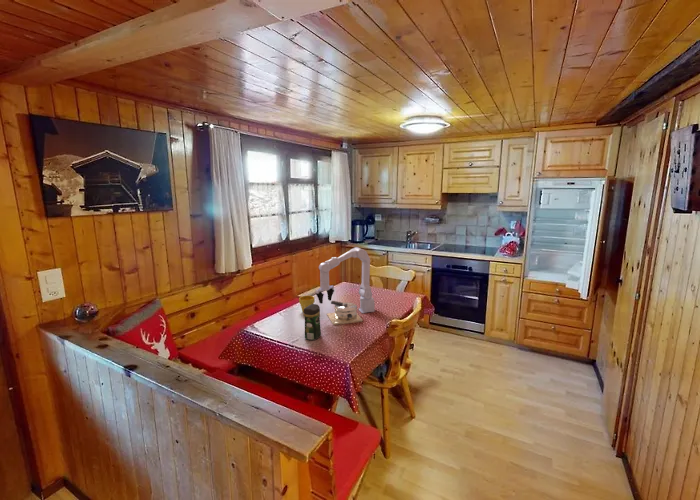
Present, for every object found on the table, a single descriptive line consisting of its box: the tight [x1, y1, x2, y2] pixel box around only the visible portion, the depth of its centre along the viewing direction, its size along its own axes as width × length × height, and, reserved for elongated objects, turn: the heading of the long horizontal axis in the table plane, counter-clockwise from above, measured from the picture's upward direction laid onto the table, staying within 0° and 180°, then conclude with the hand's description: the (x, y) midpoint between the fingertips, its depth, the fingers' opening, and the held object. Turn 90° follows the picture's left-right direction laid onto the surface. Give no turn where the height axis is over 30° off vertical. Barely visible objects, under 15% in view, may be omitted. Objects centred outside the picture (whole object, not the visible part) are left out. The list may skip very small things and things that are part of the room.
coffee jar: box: [303, 303, 322, 341], centre depth 183 cm, size 10×8×19 cm
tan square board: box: [326, 308, 363, 326], centre depth 213 cm, size 19×22×6 cm
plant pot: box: [298, 294, 315, 314], centre depth 224 cm, size 10×10×10 cm
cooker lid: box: [330, 300, 358, 312], centre depth 213 cm, size 18×15×3 cm
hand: (325, 301), depth 213 cm, fingers open, 7 cm apart
